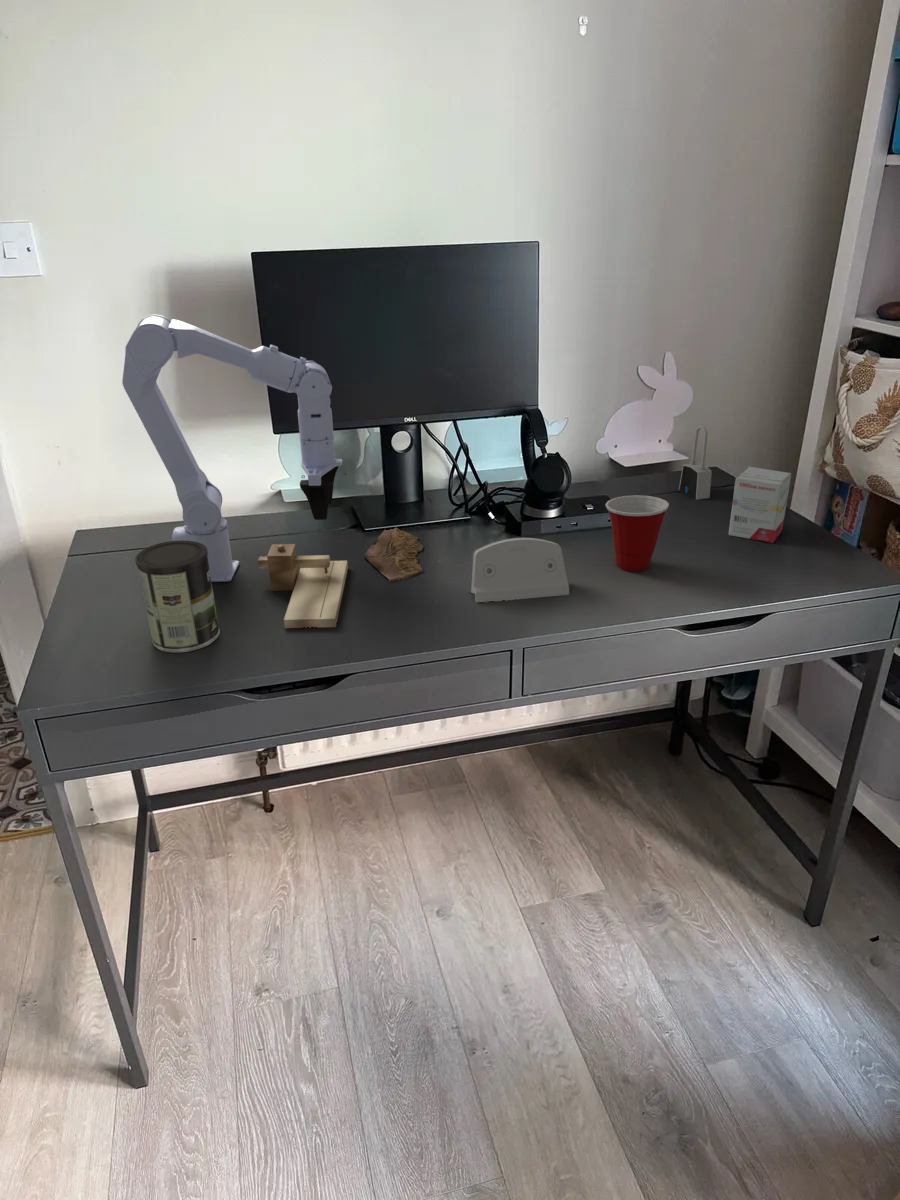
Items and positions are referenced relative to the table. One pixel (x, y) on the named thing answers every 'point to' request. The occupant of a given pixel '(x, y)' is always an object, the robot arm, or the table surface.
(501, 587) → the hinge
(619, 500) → the plastic cup
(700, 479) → the padlock
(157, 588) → the coffee can
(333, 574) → the board
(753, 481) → the ink box
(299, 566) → the gauge
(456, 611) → the table surface
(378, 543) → the wooden fragment
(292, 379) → the robot arm
